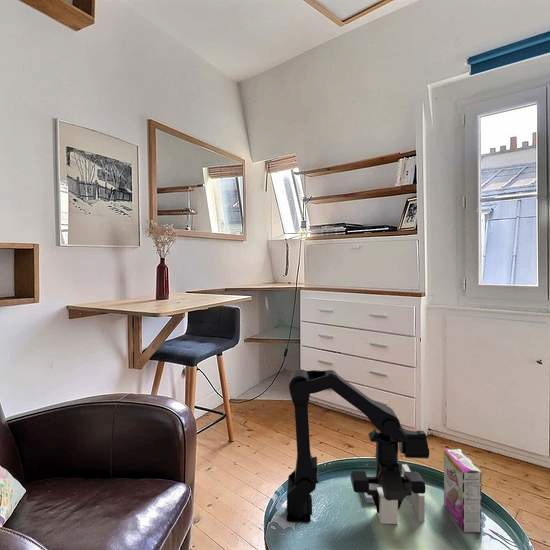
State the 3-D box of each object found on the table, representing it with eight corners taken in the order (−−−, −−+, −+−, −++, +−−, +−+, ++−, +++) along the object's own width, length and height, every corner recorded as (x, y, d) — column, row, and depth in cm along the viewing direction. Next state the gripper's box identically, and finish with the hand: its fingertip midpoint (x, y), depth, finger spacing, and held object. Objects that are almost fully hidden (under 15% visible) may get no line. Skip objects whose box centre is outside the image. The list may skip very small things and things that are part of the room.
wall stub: (418, 521, 98) (418, 495, 97) (401, 486, 113) (401, 464, 112) (424, 521, 98) (424, 495, 97) (406, 486, 113) (406, 464, 112)
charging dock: (364, 505, 104) (364, 498, 104) (358, 483, 114) (358, 477, 114) (400, 505, 104) (400, 499, 104) (390, 484, 114) (390, 478, 114)
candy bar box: (442, 504, 104) (442, 448, 104) (460, 504, 104) (460, 448, 104) (462, 533, 93) (463, 471, 92) (482, 533, 93) (482, 471, 92)
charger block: (380, 523, 97) (380, 497, 97) (376, 511, 101) (376, 486, 101) (397, 523, 97) (397, 497, 96) (393, 512, 101) (393, 486, 101)
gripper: (357, 473, 91) (357, 533, 91) (433, 474, 90) (433, 535, 91) (350, 449, 102) (350, 504, 103) (418, 450, 101) (417, 505, 102)
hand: (386, 512), depth 99 cm, fingers closed on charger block, 4 cm apart
